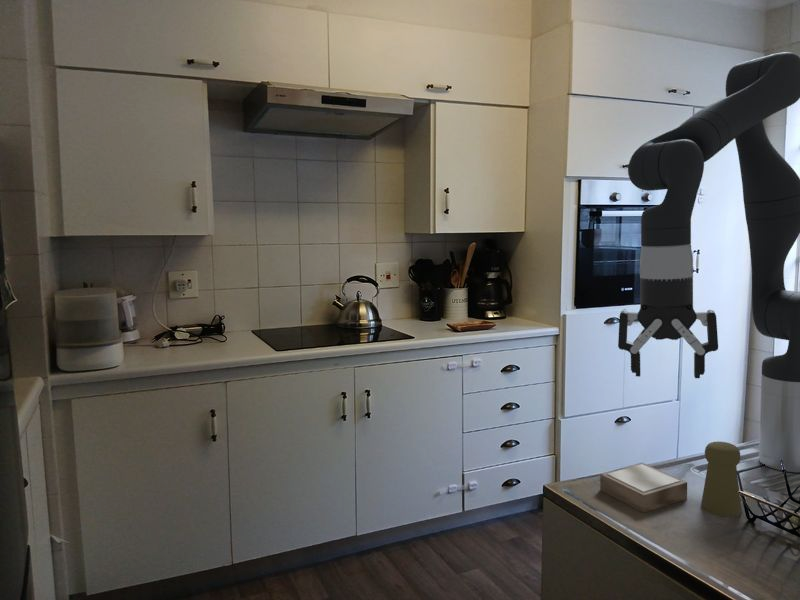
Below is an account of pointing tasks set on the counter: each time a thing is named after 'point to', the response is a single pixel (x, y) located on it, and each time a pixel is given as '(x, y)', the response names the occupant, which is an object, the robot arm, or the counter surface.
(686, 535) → the counter surface
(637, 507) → the base block
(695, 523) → the counter surface
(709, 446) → the cork
